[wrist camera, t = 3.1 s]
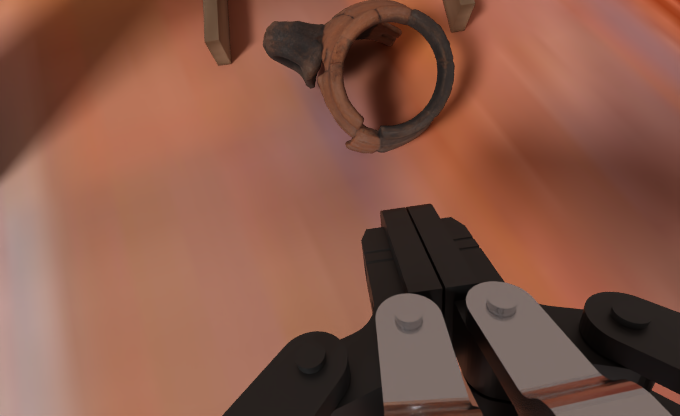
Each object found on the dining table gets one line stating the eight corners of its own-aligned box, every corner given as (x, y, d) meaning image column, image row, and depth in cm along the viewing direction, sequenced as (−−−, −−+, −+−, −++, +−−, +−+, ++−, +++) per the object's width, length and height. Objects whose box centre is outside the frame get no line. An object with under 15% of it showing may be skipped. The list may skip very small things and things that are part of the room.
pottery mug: (428, 38, 27) (487, 2, 19) (402, 157, 29) (446, 170, 21) (273, -2, 25) (268, -61, 17) (256, 131, 27) (243, 134, 19)
